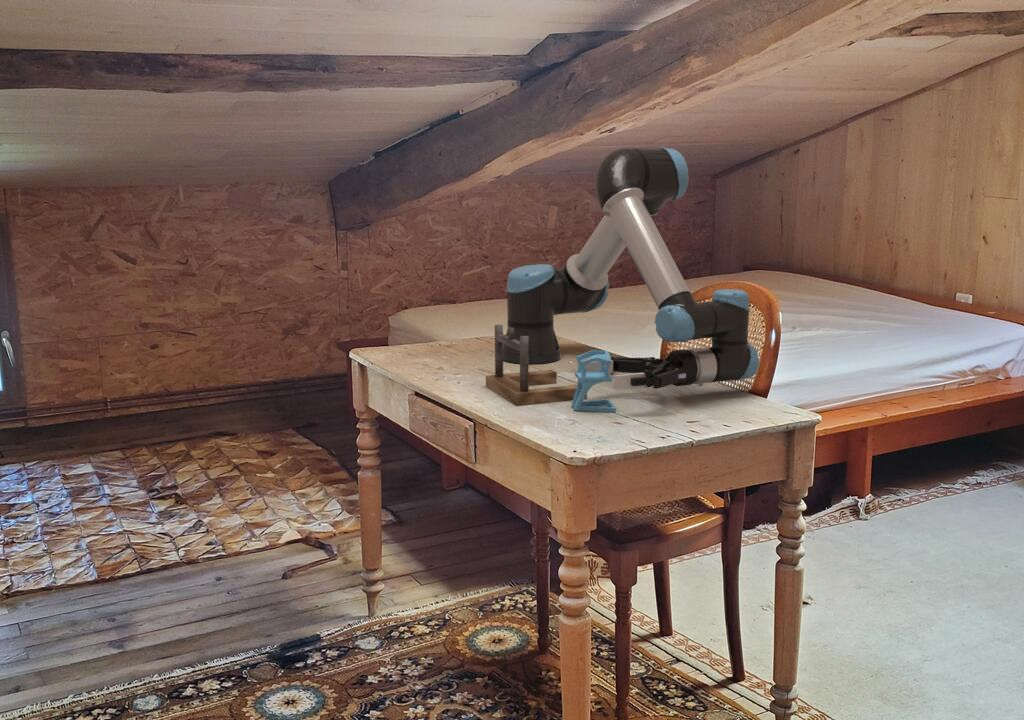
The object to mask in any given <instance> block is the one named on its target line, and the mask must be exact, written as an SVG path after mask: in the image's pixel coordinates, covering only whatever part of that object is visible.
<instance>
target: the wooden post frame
mask: <svg viewBox="0 0 1024 720" xmlns="http://www.w3.org/2000/svg"><path fill="white" fill-rule="evenodd" d="M507 328H508V327H507ZM503 344H505V345H507V346H509V347H511V348H514V349H516V350H518V351H520V363H519V372H513V373H512V372H511V373H504V360H503ZM529 365H530V364H529V343H528V336H520V341H518V340H515V339H514V328H508V336H507V335H506V334H504V325H503V324H494V374H488V375H485V388H487V389H489V390H490V391H492V392H494V393H496V394H497V395H498V396H500V397H502V398H503V399H504V400H506V401H508V402H510V403H512V404H513V405H514V406H516V407H519V406H528V405H529V406H531V405H539V404H546V403H548V404H550V403H559V402H569V401H573V398H574V395H575V392H576V388H577V384H573V385H562V386H561V385H560V386H559V385H558V386H551V387H541V388H529V387H531V386H540V385H550V384H558V382H557V380H558V378H557V377H558V376H557V375H558V374H557V371H555V370H553V369H546V370H534V371H529V369H530V368H529ZM586 399H588V393H587V394H586V396H585V398H584V400H586Z"/></svg>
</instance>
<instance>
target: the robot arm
mask: <svg viewBox="0 0 1024 720" xmlns="http://www.w3.org/2000/svg"><path fill="white" fill-rule="evenodd" d="M689 179H690V176H689V169H688V164H687V162H686V159H685V157H684V156H683V154H682V153H680V152H679V151H678V150H676V149H674V148H666V147H664V146H661V147H647V148H646V147H643V148H642V147H638V148H635V147H634V148H631V147H622V148H618V149H614V150H613V151H610V153H608V154H606V156H604V158H603V159H602V160H601V162H600V163H599V165H598V168H597V170H596V173H595V177H594V188H595V189H594V190H595V195H596V199H597V202H598V204H599V206H600V208H601V210H602V212H603V214H604V216H603V217H602V219H601V220H600V222H599V223H598V225H597V227H596V228H595V229H594V231H593V232H592V234H591V235H590V237H589V238H588V240H587V242H586V243H585V244H584V246H583V247H582V249H581V250H580V251H579V253H576V254H572V255H571V256H570V257H569V258H568V259H567V260H566V262H565V264H564V265H563V266H562V267H561V268H556V269H555V268H554V267H553V265H552V264H548V263H547V264H546V263H538V264H528V265H523V266H519V267H516V268H513V269H511V270H510V271H509V273H508V275H507V282H506V291H507V296H506V299H507V306H506V307H507V312H506V313H507V329H506V332H505V335H507V336H508V328H514V339H515V340H518V341H520V336H528V343H529V365H530V364H532V365H534V364H535V365H537V364H546V363H553V362H556V361H559V360H560V359H561V349H560V345H559V341H558V338H557V335H556V332H555V329H554V328H555V327H554V316H558V315H569V314H579V313H582V314H583V313H588V312H592V311H595V310H597V309H599V308H601V306H603V305H604V303H605V302H606V300H607V297H608V294H609V292H608V290H609V289H610V283H609V275H608V273H609V271H610V270H611V268H612V267H613V265H614V264H615V263H616V261H617V260H618V258H619V257H620V255H621V254H622V253H623V251H624V250H625V249H627V250H628V253H629V254H630V257H631V258H632V260H633V262H634V264H635V266H636V268H637V270H638V272H639V274H640V276H641V277H642V279H643V282H644V283H645V286H646V287H647V289H648V292H649V293H650V295H651V297H652V299H653V301H654V303H655V305H656V307H657V309H658V311H657V313H656V314H655V318H654V325H655V331H656V333H657V335H658V336H659V338H661V340H663V341H664V342H666V343H685V342H688V341H695V340H701V339H710V338H711V346H710V347H696V348H689V349H688V348H687V349H686V348H684V349H676V350H671V351H669V353H668V355H667V357H666V359H664V358H659V357H658V358H656V357H654V356H651V357H649V356H648V357H619V356H618V357H613V356H610V357H611V362H610V366H609V371H608V372H609V375H610V376H613V390H614V391H615V390H624V389H635V388H643V387H644V388H645V387H647V388H652V389H655V390H658V389H662V388H665V387H668V386H670V385H673V386H674V387H682V386H691V385H698V386H700V387H702V386H704V384H708V383H709V384H710V383H718V382H719V383H720V382H730V381H731V382H732V381H734V382H737V381H740V380H741V381H742V380H746V379H751V378H752V377H754V376H755V375H756V374H757V372H758V371H759V368H760V358H759V357H758V355H759V352H758V350H757V349H756V348H755V346H754V345H752V344H750V343H749V342H748V339H749V338H748V337H749V321H750V319H749V318H750V312H751V310H750V296H749V294H748V292H746V291H745V290H743V289H735V288H734V289H733V288H731V289H730V288H724V289H718V290H715V291H714V292H713V295H712V299H711V301H703V302H701V301H700V302H697V301H696V300H695V298H694V295H693V293H692V292H691V290H690V288H689V287H688V284H687V283H686V280H685V279H684V277H683V275H682V273H681V271H680V270H679V268H678V265H677V264H676V262H675V260H674V258H673V256H672V254H671V253H670V250H669V248H668V247H667V244H666V242H665V241H664V239H663V237H662V235H661V233H660V231H659V230H658V228H657V225H656V224H655V222H654V220H653V218H652V217H653V216H655V215H657V214H658V213H659V212H660V211H661V210H662V208H663V207H664V206H665V204H666V203H667V202H668V201H675V200H679V199H680V198H682V197H683V196H684V195H685V194H686V191H687V189H688V185H689ZM504 361H505V362H507V363H513V364H520V351H518V350H516V349H514V348H511V347H509V346H507V345H505V344H503V362H504ZM604 368H606V364H604ZM585 369H586V372H592V371H601V362H597V361H595V362H591V363H588V364H586V365H585ZM614 373H625V374H614Z"/></svg>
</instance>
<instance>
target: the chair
mask: <svg viewBox="0 0 1024 720" xmlns="http://www.w3.org/2000/svg"><path fill="white" fill-rule="evenodd" d="M611 357H612V356H611V354H610V352H609V351H607V350H604V349H603V350H598V349H593V350H589V351H586V352H584V353H582V354H579V355H576V356H575V359H576V360H577V364H578V365H577V366H578V368H577V371H574V376H575V378H577V384H576V385H577V388H576V392H575V395H574V398H573V400H572V402H571V408H573V411H576V412H577V411H578V412H579V411H580V412H581V411H582V412H600V413H617V411H616V410H617V407H616V406H615V405H614V404H613V402H612V401H611V400H610V399H609V398H604V399H594V400H585V399H584V398H585V396H586V394H587V395H588V392H589V391H590V390H591V388H592V387H593V386H595V385H597V384H600V383H605V382H606V383H607V382H612V381H613V377H612V375H610V373H609V372H608V371H609V366H610V362H611ZM595 361H597V362H601V371H592V372H586V369H585V365H586V364H588V363H591V362H595ZM604 364H606V368H604ZM584 400H585V401H584ZM599 405H600V406H599ZM601 405H607V406H601Z"/></svg>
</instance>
